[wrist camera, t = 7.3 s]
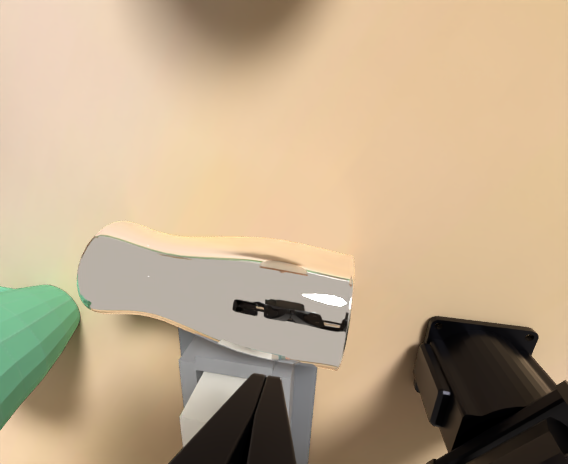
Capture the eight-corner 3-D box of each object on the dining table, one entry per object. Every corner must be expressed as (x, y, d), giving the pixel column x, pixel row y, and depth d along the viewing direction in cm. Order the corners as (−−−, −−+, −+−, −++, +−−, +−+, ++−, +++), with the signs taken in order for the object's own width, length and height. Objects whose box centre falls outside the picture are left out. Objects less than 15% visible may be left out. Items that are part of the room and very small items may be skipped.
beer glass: (155, 218, 22) (349, 250, 20) (139, 306, 22) (333, 348, 20) (80, 206, 16) (361, 253, 13) (57, 334, 15) (337, 402, 13)
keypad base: (320, 326, 22) (317, 367, 18) (302, 519, 30) (297, 575, 26) (183, 307, 23) (153, 342, 19) (201, 495, 31) (183, 545, 28)
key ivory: (272, 364, 21) (254, 431, 16) (270, 409, 22) (253, 482, 18) (212, 354, 21) (179, 416, 17) (215, 399, 23) (185, 467, 18)
